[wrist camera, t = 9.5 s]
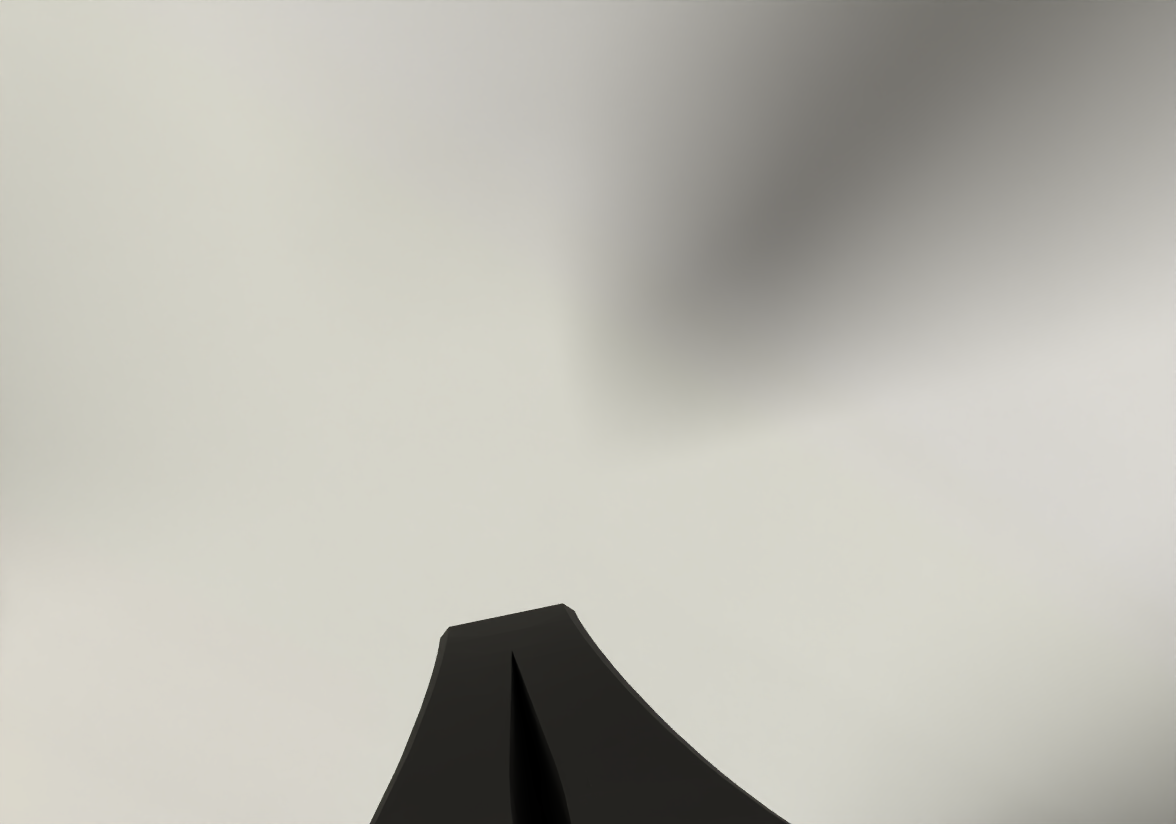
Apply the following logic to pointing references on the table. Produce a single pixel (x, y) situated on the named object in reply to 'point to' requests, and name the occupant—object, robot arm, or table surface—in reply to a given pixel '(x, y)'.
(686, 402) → the table surface
